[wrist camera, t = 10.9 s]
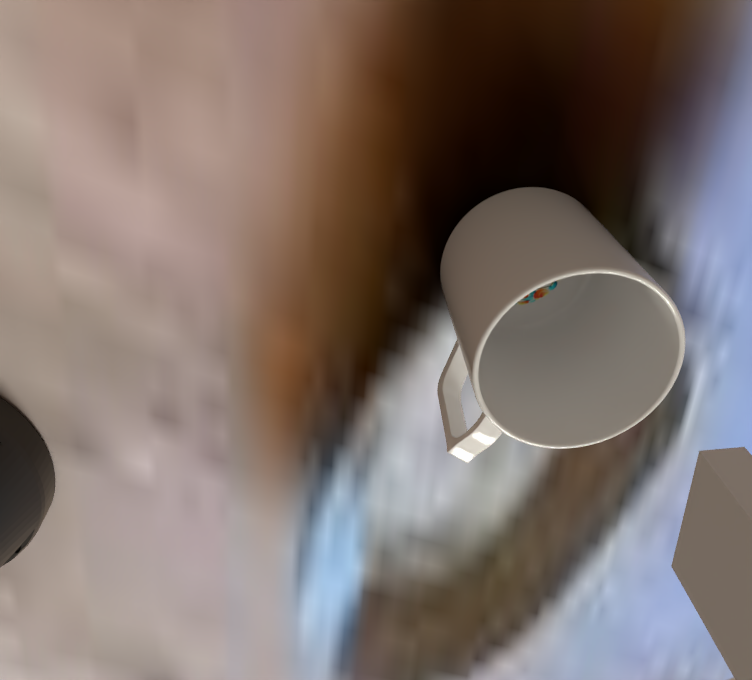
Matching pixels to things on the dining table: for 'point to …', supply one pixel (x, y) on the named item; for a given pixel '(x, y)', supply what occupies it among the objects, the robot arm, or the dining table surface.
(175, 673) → the dining table surface
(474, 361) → the grey rounded block
